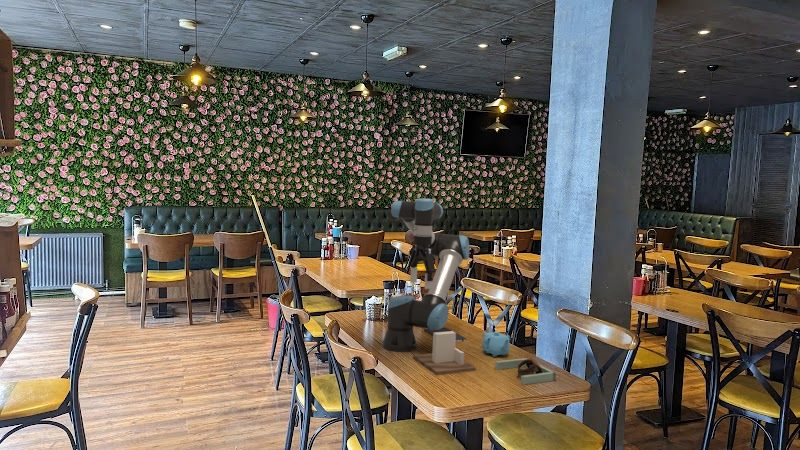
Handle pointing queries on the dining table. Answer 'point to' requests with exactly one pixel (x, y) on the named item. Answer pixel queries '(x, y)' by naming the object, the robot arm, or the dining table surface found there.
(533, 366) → the brown twisted sculpture
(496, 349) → the blue piggy bank
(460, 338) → the notebook
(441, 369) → the board
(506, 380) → the dining table surface
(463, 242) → the robot arm
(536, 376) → the corral
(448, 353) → the grey l-shaped bookend
